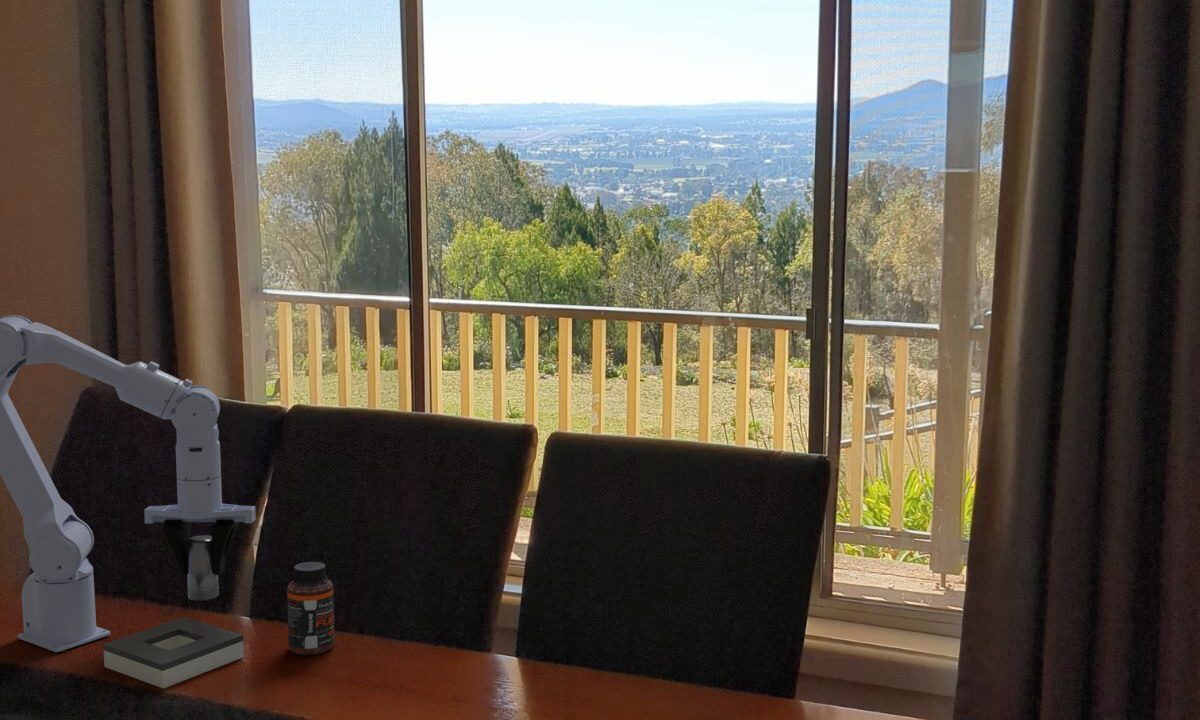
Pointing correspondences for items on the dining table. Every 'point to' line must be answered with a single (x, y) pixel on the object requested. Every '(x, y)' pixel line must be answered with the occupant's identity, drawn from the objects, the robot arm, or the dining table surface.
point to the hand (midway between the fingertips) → (202, 573)
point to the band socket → (173, 651)
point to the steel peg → (201, 568)
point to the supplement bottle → (310, 610)
